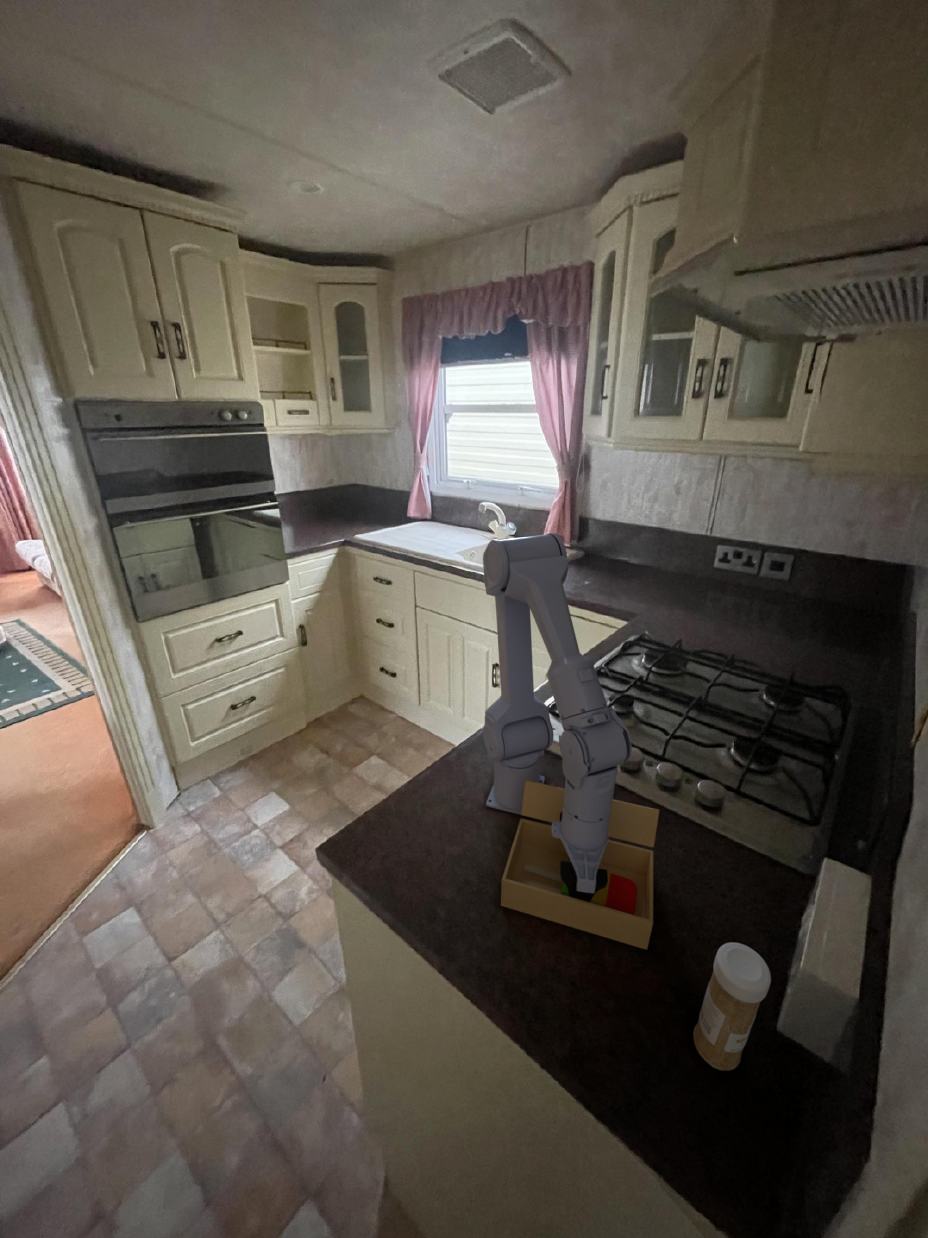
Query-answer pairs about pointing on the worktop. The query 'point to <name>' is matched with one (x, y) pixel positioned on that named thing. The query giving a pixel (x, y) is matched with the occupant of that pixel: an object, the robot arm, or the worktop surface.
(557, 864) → the carton
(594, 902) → the popsicle
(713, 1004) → the sprinkles bottle
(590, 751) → the robot arm
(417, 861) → the worktop surface
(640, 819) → the flap
